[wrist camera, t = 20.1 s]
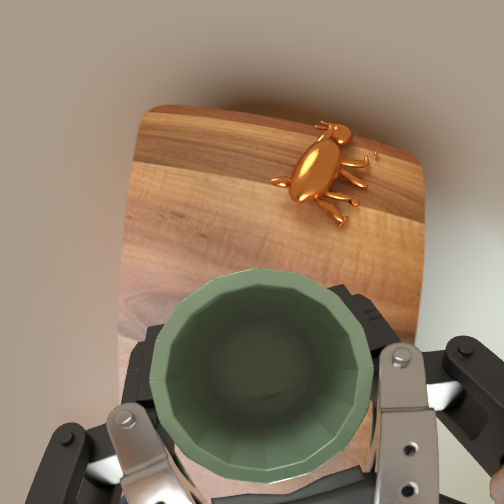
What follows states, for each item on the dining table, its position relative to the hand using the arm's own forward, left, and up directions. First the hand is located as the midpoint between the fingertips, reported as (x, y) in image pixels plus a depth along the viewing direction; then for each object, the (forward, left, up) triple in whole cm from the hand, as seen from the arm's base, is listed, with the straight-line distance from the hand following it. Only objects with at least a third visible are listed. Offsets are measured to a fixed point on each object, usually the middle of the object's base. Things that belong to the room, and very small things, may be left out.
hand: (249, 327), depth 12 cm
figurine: (+18, -11, -16) cm, 26 cm away
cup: (-2, -1, -4) cm, 5 cm away
